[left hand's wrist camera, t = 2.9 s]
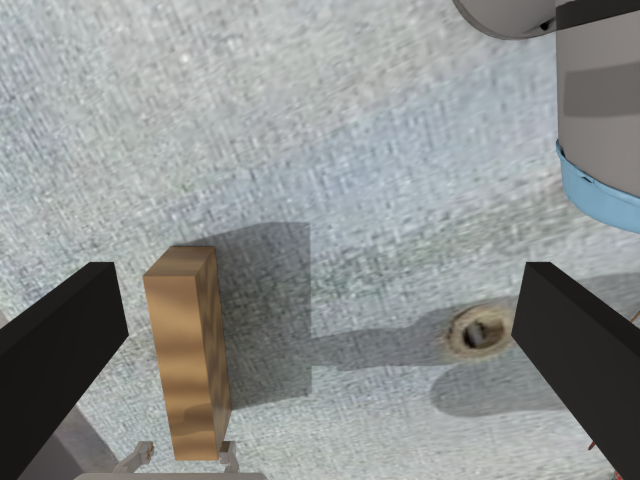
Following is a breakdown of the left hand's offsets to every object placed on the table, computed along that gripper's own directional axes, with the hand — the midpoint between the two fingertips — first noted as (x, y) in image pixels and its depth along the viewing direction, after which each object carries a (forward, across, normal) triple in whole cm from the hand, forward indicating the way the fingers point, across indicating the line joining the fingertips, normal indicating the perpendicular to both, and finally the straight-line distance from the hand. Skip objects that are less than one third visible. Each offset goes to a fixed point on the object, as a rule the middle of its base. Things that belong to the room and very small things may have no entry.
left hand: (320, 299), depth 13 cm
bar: (+32, -15, -23) cm, 42 cm away
